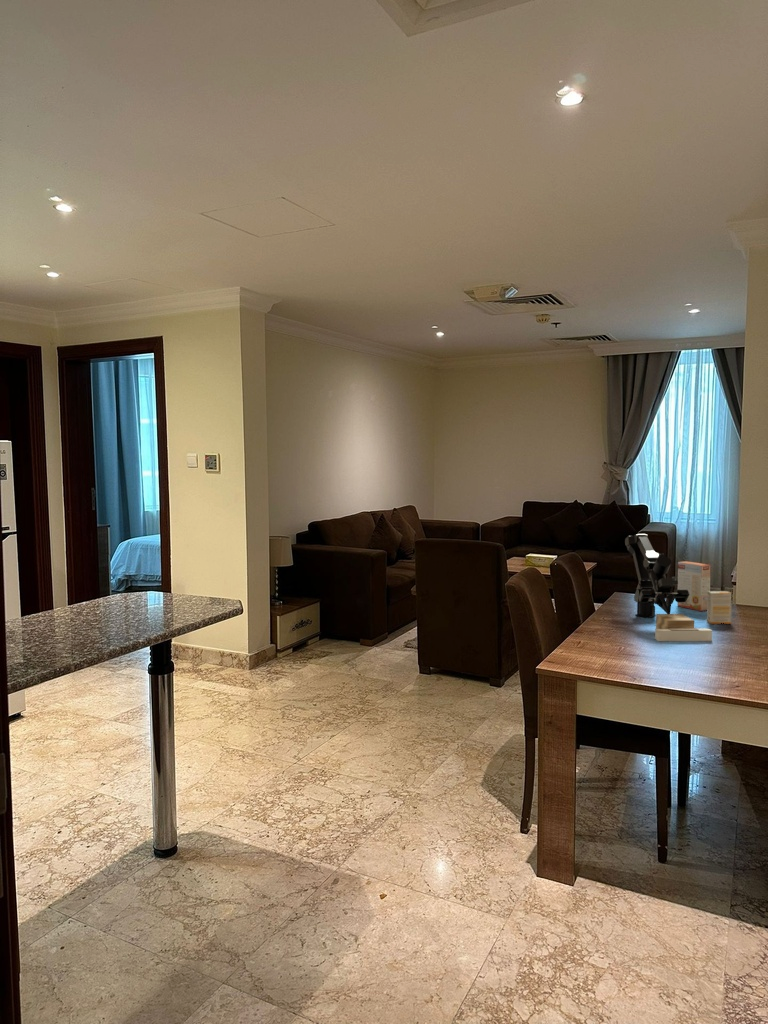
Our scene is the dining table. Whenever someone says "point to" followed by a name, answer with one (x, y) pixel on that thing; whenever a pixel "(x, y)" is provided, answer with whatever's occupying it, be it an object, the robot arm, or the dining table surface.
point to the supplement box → (719, 607)
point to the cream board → (683, 634)
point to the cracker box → (694, 584)
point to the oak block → (673, 621)
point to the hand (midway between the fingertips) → (669, 613)
